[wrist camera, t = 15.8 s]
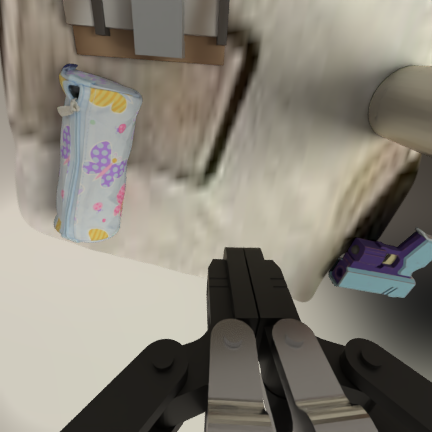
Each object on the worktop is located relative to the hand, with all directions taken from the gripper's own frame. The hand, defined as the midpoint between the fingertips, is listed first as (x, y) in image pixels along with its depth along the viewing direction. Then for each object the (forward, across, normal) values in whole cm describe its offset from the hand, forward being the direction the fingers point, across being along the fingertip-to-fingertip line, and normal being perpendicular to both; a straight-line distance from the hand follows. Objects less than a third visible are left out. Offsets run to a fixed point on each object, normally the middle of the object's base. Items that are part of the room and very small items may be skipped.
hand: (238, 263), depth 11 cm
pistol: (+30, -34, +22) cm, 50 cm away
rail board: (+29, +8, -12) cm, 32 cm away
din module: (+28, +6, -11) cm, 31 cm away
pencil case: (+29, +15, +5) cm, 33 cm away
